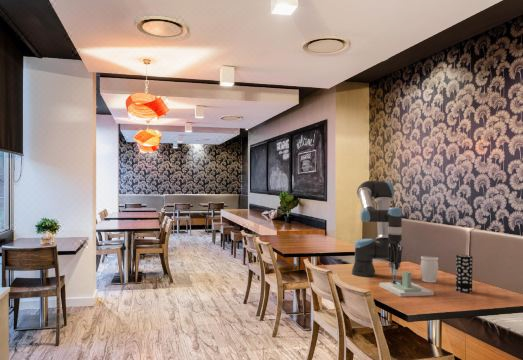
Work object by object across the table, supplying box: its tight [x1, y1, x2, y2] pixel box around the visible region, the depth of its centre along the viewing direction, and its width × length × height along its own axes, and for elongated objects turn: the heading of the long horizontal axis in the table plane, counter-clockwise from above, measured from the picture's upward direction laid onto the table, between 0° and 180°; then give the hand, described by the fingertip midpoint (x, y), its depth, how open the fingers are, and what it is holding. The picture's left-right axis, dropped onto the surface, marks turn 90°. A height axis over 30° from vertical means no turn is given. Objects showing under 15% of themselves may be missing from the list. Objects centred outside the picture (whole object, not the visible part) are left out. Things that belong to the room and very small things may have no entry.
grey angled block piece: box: [388, 262, 402, 284], centre depth 238 cm, size 10×6×12 cm, turn 13°
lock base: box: [378, 281, 435, 297], centre depth 233 cm, size 23×20×2 cm
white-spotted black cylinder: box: [455, 254, 474, 294], centre depth 234 cm, size 8×8×20 cm
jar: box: [419, 255, 439, 284], centre depth 258 cm, size 11×10×15 cm
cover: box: [393, 270, 421, 292], centre depth 229 cm, size 12×10×10 cm
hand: (394, 274), depth 241 cm, fingers closed on grey angled block piece, 2 cm apart
